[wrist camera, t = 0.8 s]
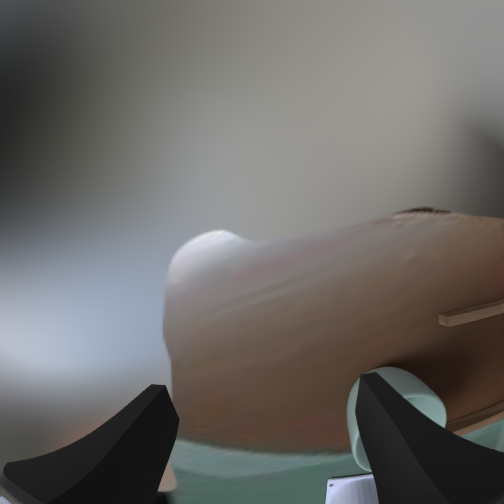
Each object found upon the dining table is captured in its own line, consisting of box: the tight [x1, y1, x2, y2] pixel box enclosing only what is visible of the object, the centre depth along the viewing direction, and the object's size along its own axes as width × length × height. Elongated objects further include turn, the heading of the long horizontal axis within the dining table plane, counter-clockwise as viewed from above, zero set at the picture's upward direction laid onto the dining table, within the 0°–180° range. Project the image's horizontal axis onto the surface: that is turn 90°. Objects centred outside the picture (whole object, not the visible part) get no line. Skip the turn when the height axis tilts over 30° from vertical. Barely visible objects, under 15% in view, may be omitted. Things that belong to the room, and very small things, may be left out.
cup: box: [346, 366, 447, 472], centre depth 19 cm, size 8×8×10 cm
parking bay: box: [438, 299, 504, 436], centre depth 20 cm, size 15×14×2 cm
